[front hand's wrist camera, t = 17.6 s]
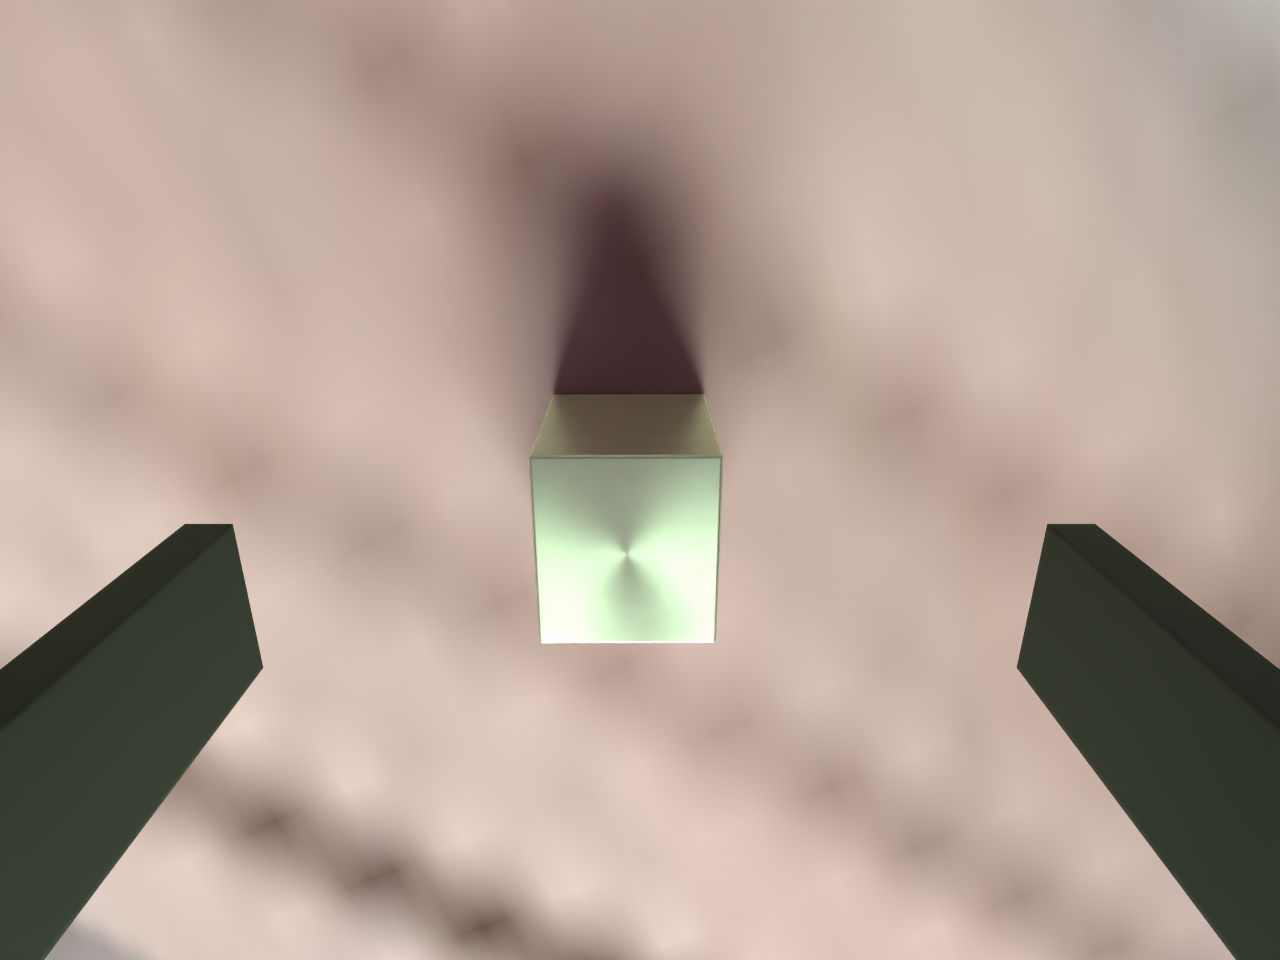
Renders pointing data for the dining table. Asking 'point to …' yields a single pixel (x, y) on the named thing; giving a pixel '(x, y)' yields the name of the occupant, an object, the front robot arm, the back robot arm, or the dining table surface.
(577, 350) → the dining table surface
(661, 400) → the block
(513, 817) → the dining table surface
